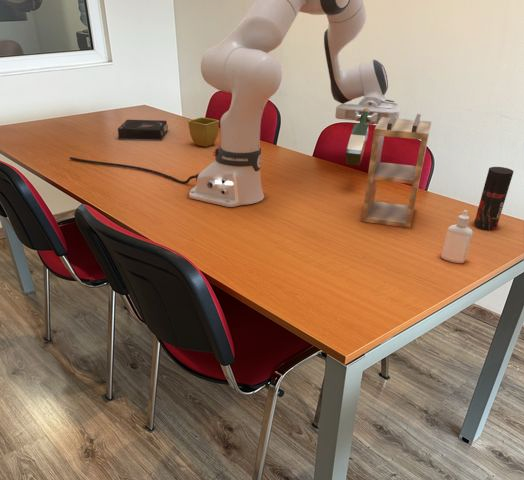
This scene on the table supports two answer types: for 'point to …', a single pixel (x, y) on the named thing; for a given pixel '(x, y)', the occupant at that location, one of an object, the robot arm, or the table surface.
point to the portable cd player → (142, 130)
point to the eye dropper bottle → (457, 240)
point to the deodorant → (493, 198)
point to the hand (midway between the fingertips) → (364, 118)
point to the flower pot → (203, 131)
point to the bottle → (358, 140)
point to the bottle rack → (394, 171)
